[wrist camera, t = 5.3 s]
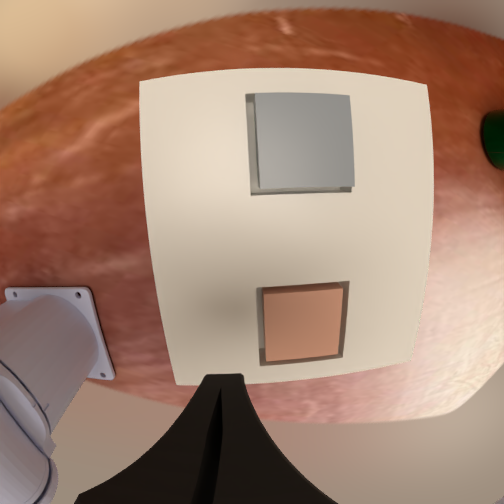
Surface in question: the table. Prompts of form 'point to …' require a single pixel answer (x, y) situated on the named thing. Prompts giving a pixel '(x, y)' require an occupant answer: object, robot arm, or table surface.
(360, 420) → the table surface
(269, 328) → the terracotta key
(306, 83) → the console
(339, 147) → the slate key
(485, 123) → the soda can
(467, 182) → the table surface
